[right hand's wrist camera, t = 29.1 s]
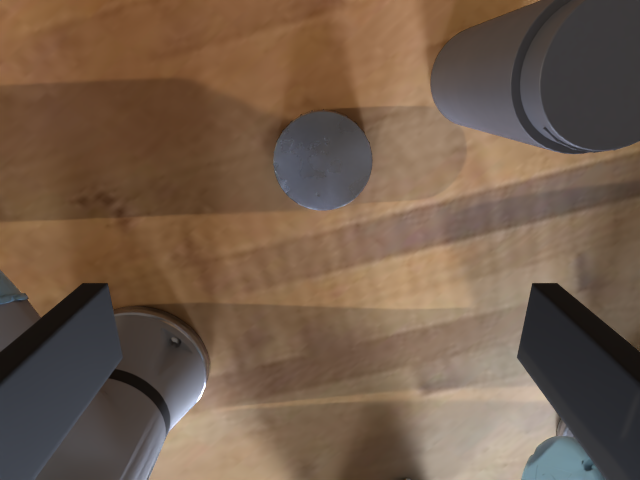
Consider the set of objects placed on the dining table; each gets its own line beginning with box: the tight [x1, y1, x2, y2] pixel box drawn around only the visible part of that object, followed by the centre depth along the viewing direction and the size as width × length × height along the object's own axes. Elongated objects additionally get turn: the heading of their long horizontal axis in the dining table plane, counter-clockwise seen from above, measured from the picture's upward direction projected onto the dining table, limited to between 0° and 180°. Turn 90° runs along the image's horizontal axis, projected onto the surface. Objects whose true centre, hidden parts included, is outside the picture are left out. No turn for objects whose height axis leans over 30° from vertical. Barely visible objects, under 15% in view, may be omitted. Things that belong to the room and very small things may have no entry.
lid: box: [273, 109, 372, 210], centre depth 39 cm, size 10×10×2 cm
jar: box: [431, 0, 640, 154], centre depth 29 cm, size 9×9×19 cm
